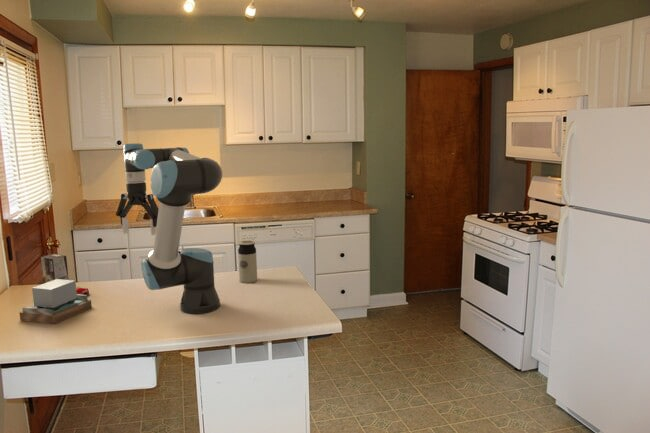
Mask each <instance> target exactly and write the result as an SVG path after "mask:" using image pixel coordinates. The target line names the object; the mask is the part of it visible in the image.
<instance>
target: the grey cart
mask: <svg viewBox="0 0 650 433" xmlns="http://www.w3.org/2000/svg"><path fill="white" fill-rule="evenodd" d="M76 288H77V284H76V280H73V279H72V280H71V279H69V280H63V279H55V280H53V281H50V282H47V283H44V282H43V283H42V284H39V285H37V286H33V287H31V290H32V291H31V292H32V299H33V300H32V301H33V307H34V306H36V307H37V308H43V307H49V308H51V309H52V310H58V309H59V307H60V305H61V304H64V303H66V302H68V303H74V302H75V299H76V298H77V292H76Z"/></svg>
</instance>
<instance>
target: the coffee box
mask: <svg viewBox="0 0 650 433" xmlns="http://www.w3.org/2000/svg"><path fill="white" fill-rule="evenodd" d="M40 259H41V261H40V262H41V269H42V277H43V284H44V283H47V282H50V281H53V280H55V279H63V280H70V279H69V269H68V258H67V255H63V254H57V253H51V254H48V255H44V256H40Z"/></svg>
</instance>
